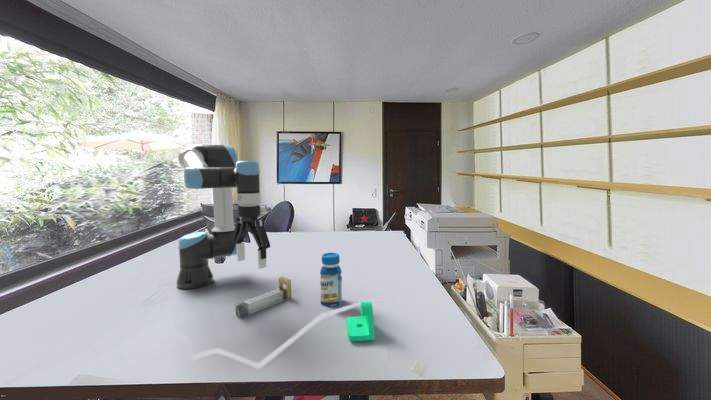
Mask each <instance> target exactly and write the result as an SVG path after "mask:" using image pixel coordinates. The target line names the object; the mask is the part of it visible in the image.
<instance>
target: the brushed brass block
mask: <svg viewBox="0 0 711 400" xmlns="http://www.w3.org/2000/svg"><path fill="white" fill-rule="evenodd" d="M277 279H278V289H279V290H283V289H286V296H287V300H286V301H287V302H289V301H290V300H292V297H293V296H292V279H290V278H288V277H284V276H280V277H278V278H277Z"/></svg>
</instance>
